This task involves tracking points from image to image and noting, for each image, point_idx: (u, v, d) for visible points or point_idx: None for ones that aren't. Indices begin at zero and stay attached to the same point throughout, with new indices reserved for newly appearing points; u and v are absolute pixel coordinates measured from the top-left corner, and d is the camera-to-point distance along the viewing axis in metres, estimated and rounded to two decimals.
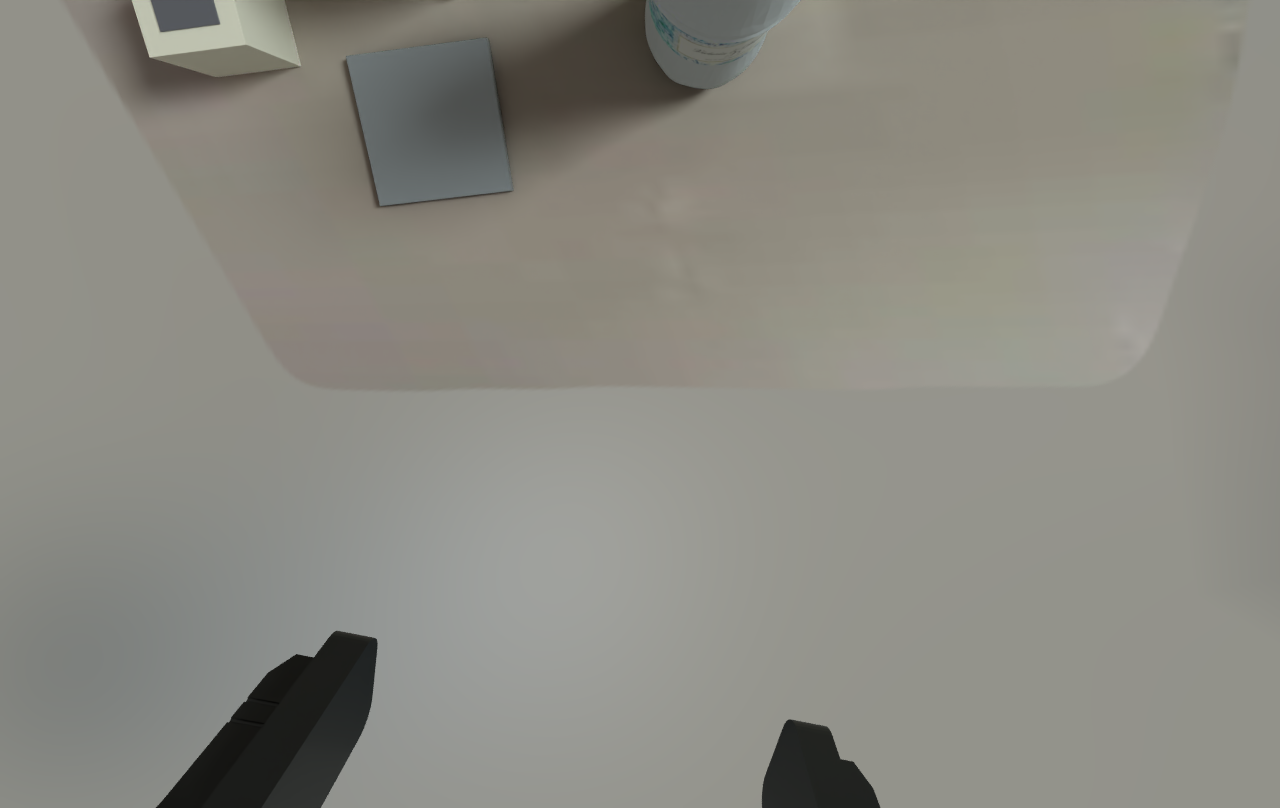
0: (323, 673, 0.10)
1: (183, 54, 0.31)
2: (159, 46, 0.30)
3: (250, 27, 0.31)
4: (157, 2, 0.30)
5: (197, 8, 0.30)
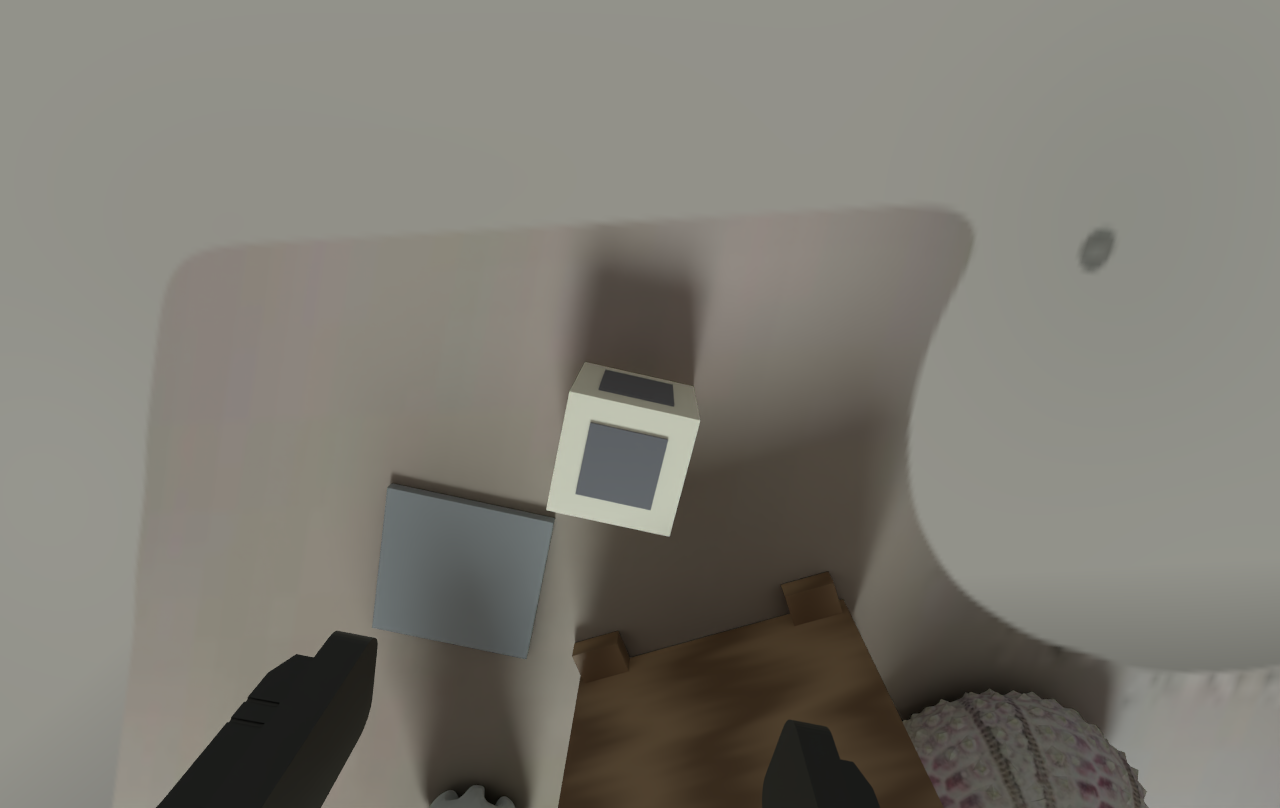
0: (323, 673, 0.10)
1: None
2: (577, 409, 0.23)
3: None
4: (620, 437, 0.23)
5: (597, 479, 0.24)
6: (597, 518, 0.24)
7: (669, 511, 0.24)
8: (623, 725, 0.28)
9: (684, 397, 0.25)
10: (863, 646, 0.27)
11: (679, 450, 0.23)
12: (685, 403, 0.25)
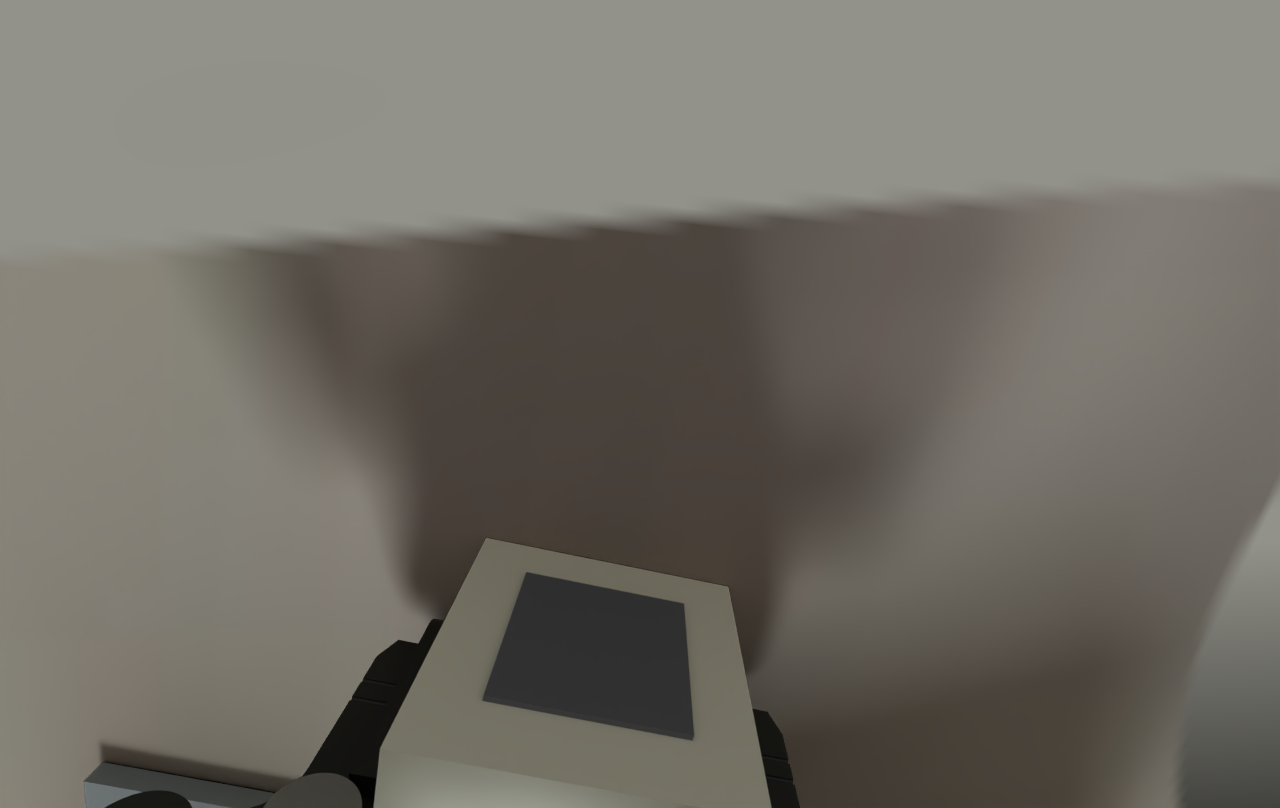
0: None
1: None
2: (408, 792, 0.08)
3: None
4: None
5: None
6: None
7: None
8: None
9: (714, 663, 0.10)
10: None
11: None
12: (720, 702, 0.09)
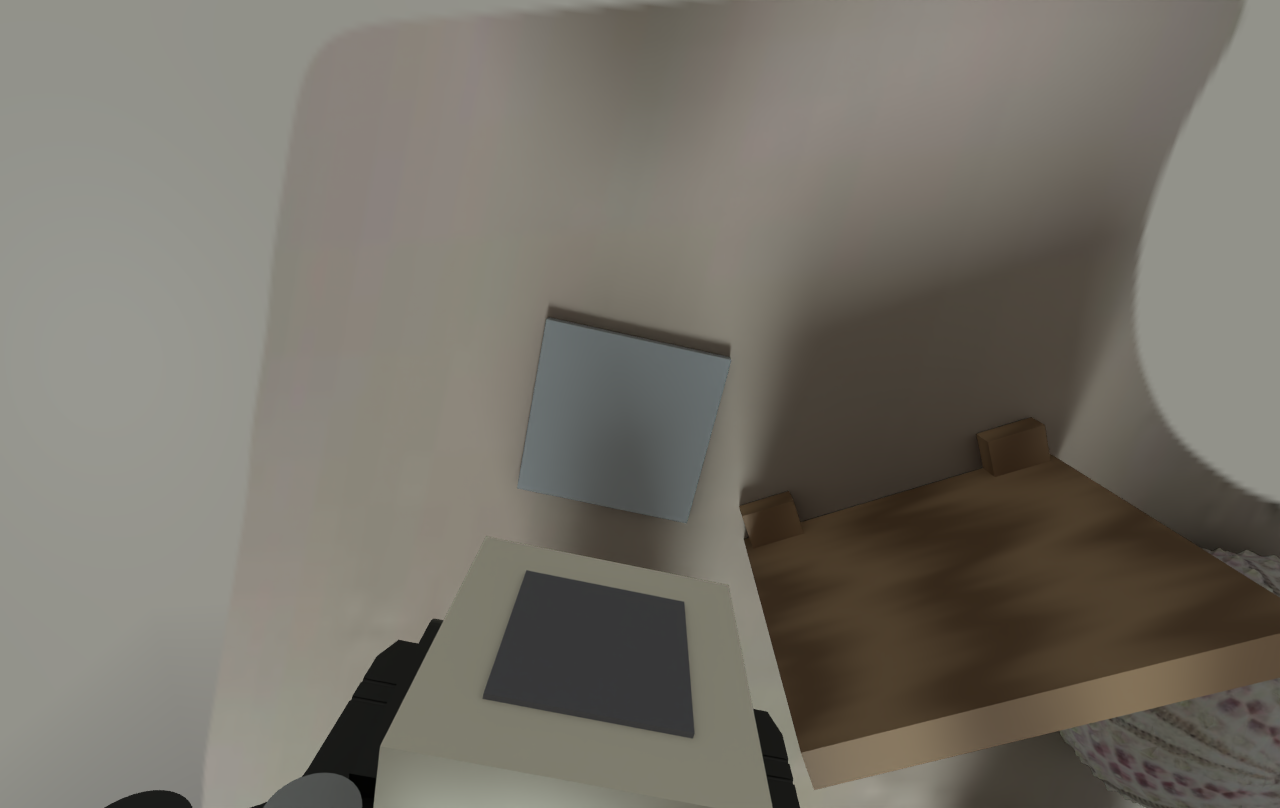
0: None
1: None
2: (409, 791, 0.08)
3: None
4: None
5: None
6: None
7: None
8: (821, 577, 0.25)
9: (715, 661, 0.10)
10: (1095, 484, 0.24)
11: None
12: (721, 700, 0.09)
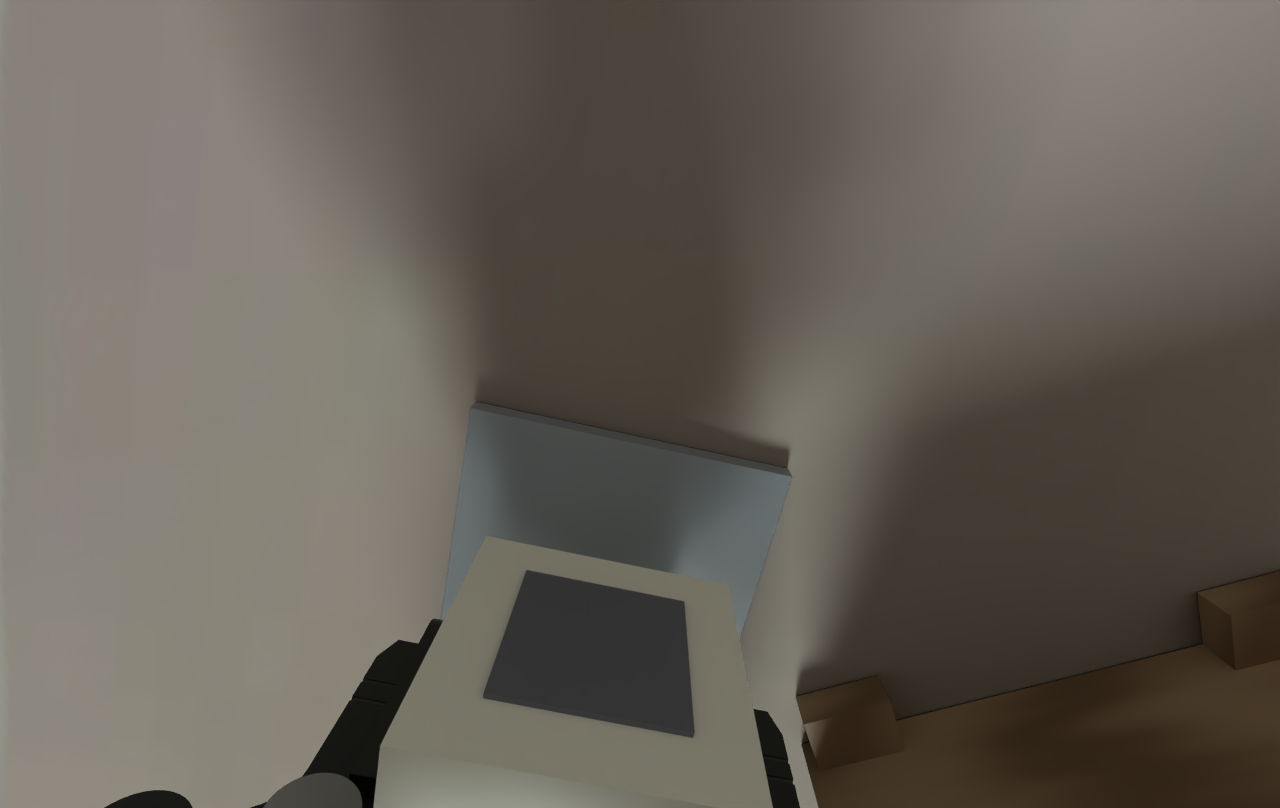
0: None
1: None
2: (409, 790, 0.08)
3: None
4: None
5: None
6: None
7: None
8: None
9: (715, 661, 0.10)
10: None
11: None
12: (721, 699, 0.09)
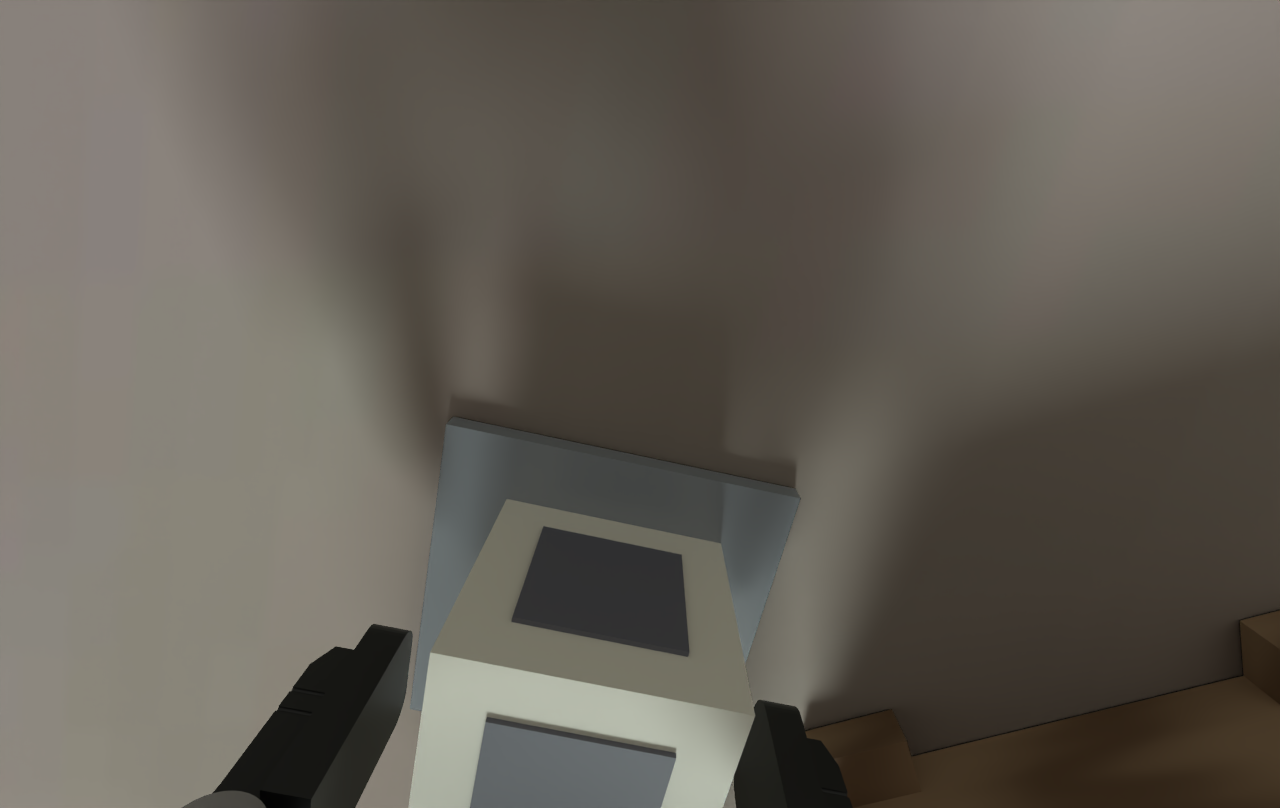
0: (364, 664, 0.10)
1: None
2: (452, 691, 0.09)
3: None
4: (560, 752, 0.10)
5: None
6: None
7: None
8: None
9: (707, 601, 0.12)
10: None
11: (703, 775, 0.10)
12: (712, 630, 0.11)
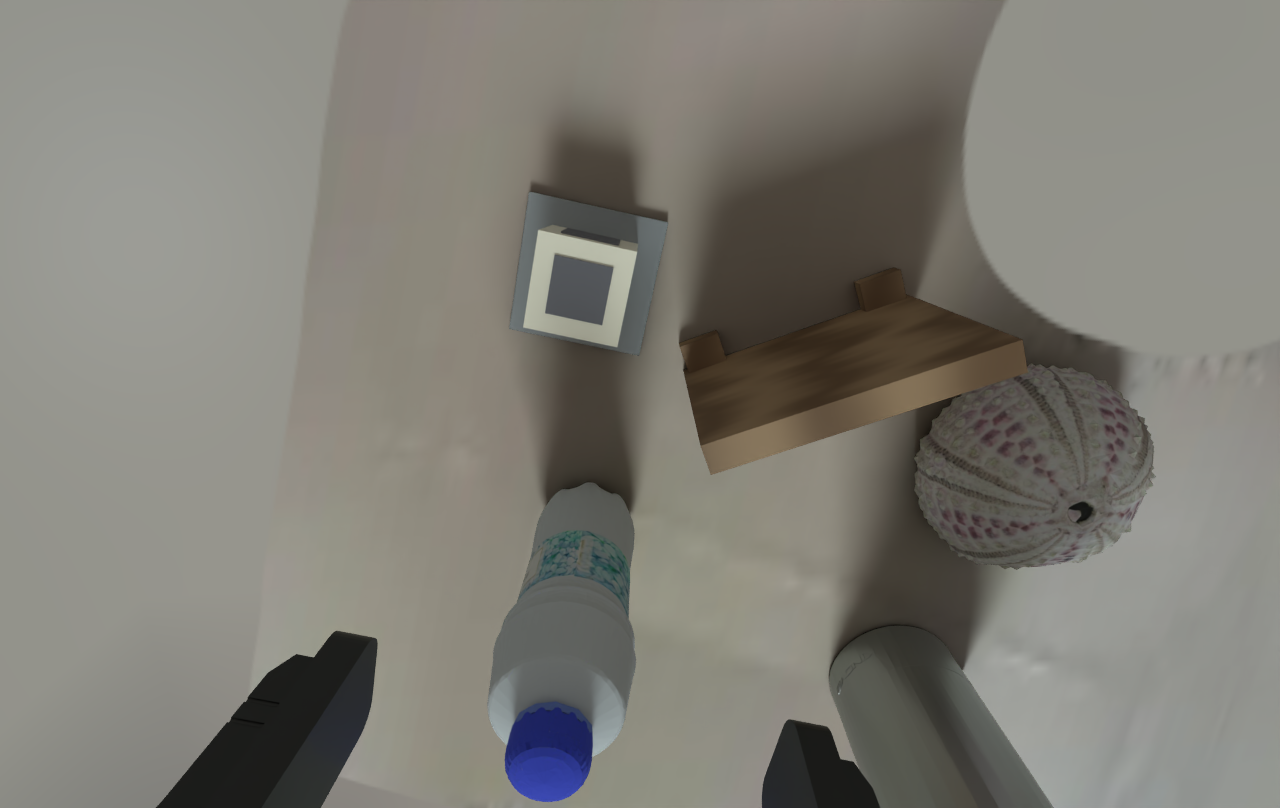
0: (323, 673, 0.10)
1: (534, 261, 0.31)
2: (544, 244, 0.30)
3: None
4: (577, 266, 0.31)
5: (561, 300, 0.31)
6: (562, 333, 0.32)
7: (616, 326, 0.32)
8: (733, 376, 0.34)
9: (628, 245, 0.33)
10: (929, 304, 0.33)
11: (622, 276, 0.31)
12: (628, 246, 0.32)
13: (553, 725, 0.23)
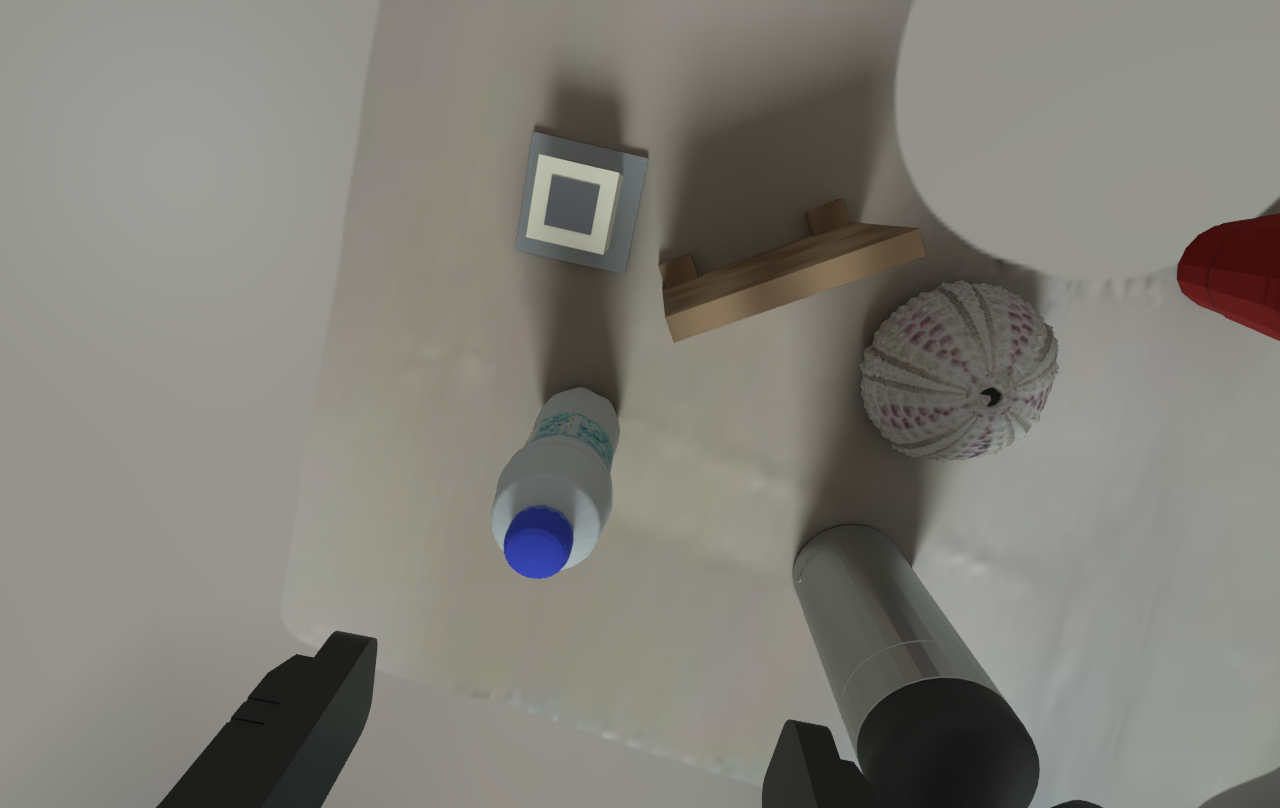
0: (323, 673, 0.10)
1: (535, 181, 0.38)
2: (544, 166, 0.37)
3: None
4: (570, 184, 0.38)
5: (557, 213, 0.38)
6: (558, 242, 0.39)
7: (602, 236, 0.39)
8: (700, 284, 0.40)
9: None
10: (864, 224, 0.40)
11: (607, 193, 0.38)
12: None
13: (541, 516, 0.30)
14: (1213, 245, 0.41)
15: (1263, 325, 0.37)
